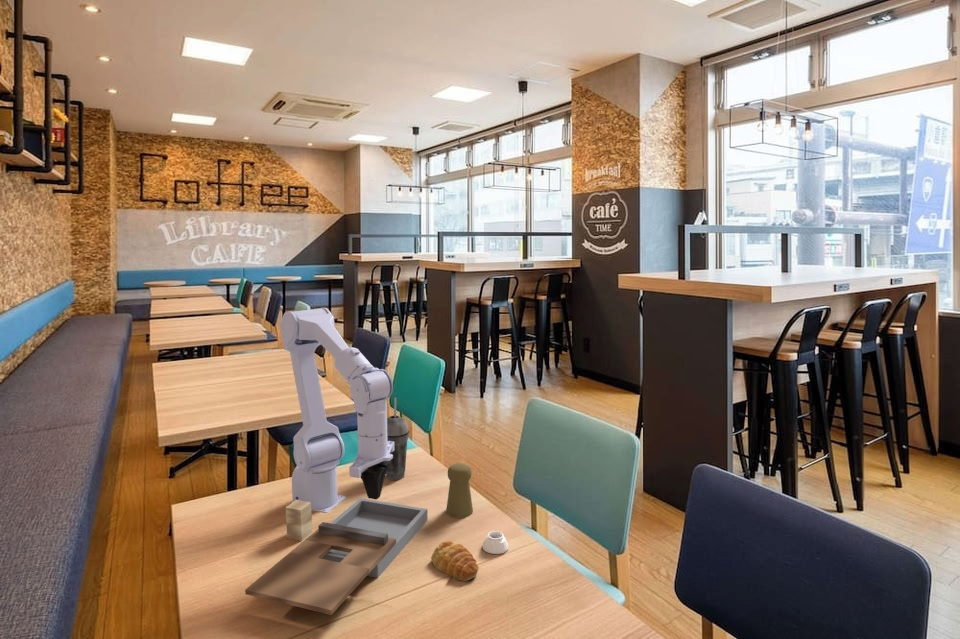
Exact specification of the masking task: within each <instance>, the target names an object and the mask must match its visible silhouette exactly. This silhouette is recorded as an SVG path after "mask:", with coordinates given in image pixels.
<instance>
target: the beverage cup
mask: <svg viewBox="0 0 960 639" xmlns="http://www.w3.org/2000/svg"><path fill="white" fill-rule="evenodd" d="M393 400H394V402H393V404H394V405H393V415H391V416H387V441H392V442H394V451H393V452H390V454H392V455H393V458H392V459H391V460H390V467H389V468H388V470H387V473H386V475H385V477H386V479H388V480H390V481H397V480H402V479H403V478H405V474H406V464H407V449H408V440H409V437H410V436H409V434H410V430H409V426H408V423H407V421H406V420H405V419H404V418H403V417H401V416H399V415H397V397H394V398H393Z"/></svg>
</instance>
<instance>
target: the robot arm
mask: <svg viewBox="0 0 960 639" xmlns="http://www.w3.org/2000/svg"><path fill="white" fill-rule="evenodd" d="M279 328H280V333H281V339H282V344H283V347H284V348H283V349H284V350H286V351H287V352H289V355H290V359H291V360H290V361H291V367H292V371H293V376H294V382H295V387H296V393H297V397H298V404H299V409H300V414H301V420H302V427H301V428H300V429H299V430H298V432H297V433H295V435H294V436H293V440H292V441H293V459H294V462H295V465H296V467H295V468H294V470H293V472H292V475H291V491H292V492H291V494H292V498H291V499H292V503H293V502H294V501H295V500H300V501H306V502H311V511H313V512H320V513H324V514H325V513H328V512H330V511H331V510H332V509H334V508H335V507H336V506H337V505H339V504H340V503H341V502H342V501H343V500H344V499H345V500H346V496H345V495H340V494H339V495H338V474H337V473H338V472H337V468H338V465H340V461H341V459H343V457H344V454H345V443H344V441H343V439H342V437H341V434H340V430H339V427H338V426H337V425H334V424H332V423H330V421H328V420H327V415H326V409H325V405H324V404H325V403H324V399H323V393H322V388H321V383H320V382H321V381H320V378H319V372H318V366H317V361H316V356H315V352H316V349H317V348H318V347H320V346H322V347H323V348H324V349H325V350H326V351H327V352H328V353H329V354H330V355H331V356H332V357H333V358H334V367H335V368H336V370H337V371H338V372H339V374H340V375H341V376H342V378H344V380H346V383H348V385H349V392H350V394H351V397H352V401H353V408H354V411H355V412H356V415H357V418H356V421H357V454H356V456H355V458H354V461H353V463H352V464H351V465H350V466H349V467H348V469H349V470H348V472H349V473H348V474H349V478H351V477H352V478H356V479H359V478H361V481H362V482H363V486H364V488H365V493H366V496H367V499H370V500H376V501H378V499H379V498H380V497H381V495H382V491H383V485H384V482H385V477H386V473H387V470H388V468H389V467H390V460H391V459H392V458H393V455H392V454H390V452H393V451H394V442H392V441H387V418H388V406H387V405H388V400H387V399H389V398H390V397H391V396H392V394H393V391H394V385H393V380H392V377H391V376H390V374H389V373H388V372H387V370H386V369H384V368H380V369H379V368H378V367H374V365H372V364H371V363H370V361H369V360H368V359H367V358H366V356H364V354H363V353H362V352H361V351H360V350H359V348H356V347H352V346H351V347H349V345H348V344H347V343H346V341H345V340H344V339H343V337H342V336H341V335H340V332H339V331H338V330H337V329H336V328H335V317H334V315H333V314H332V313H331V311H330V310H329V309H328V308H326V307H320V308H314V309H304V310H295V311H291V310H290V311H285V312H284V313H283V315H282V317H281V320H280V323H279Z"/></svg>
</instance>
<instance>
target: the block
mask: <svg viewBox="0 0 960 639" xmlns="http://www.w3.org/2000/svg"><path fill="white" fill-rule="evenodd" d="M312 511H313V510H311V502H306V501H300V500H295V501H294V502H293V501H292V502H291V503H289V504H288V505H287V506H286V507H285V521H286V526H285V527H286V539H291V540H295V541H300V542H303V541H304V540H305V539H306V538H308V537H309V536H310V535H311V534H312V533H313V515H312V514H313V513H312Z"/></svg>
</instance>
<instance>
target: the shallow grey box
mask: <svg viewBox="0 0 960 639" xmlns="http://www.w3.org/2000/svg"><path fill="white" fill-rule="evenodd" d="M427 522H428V508H422V507H418V506H417V507H416V506H410V505H405V504H400V503H399V504H398V503H394V502H393V503H392V502H387V501H382V500H376V499H370V498H362V497H360V498H358V499H357V500H356V501H355V502H353V503H352V504H351V505H349V507H348V508H346V509H345V510H344V511H343V512H342V513H340V515H338V516H337V517H336V518H335V519H334V520H332V521H331V522H330V523H331V524H337V525H342V526H347V527H353V528H358V529H364V530H369V531H375V532H380V533H385V534H388V538H393V539H396V544H395V545H394V546H393V547H392V548H391V549H390V550H389V552H388V553H387V554H386V555H385V556H384V557H383V558H382V559H381V560H380V562H379V563H378V564H377V565H376V566H375V567H374V568H373V569H372V571H371V572H370V573H369V574H368V575H367V576H366V577H371V578H374V579H375V578H376V579H378V578H380V576H381V575H382V574H383V573H384V572H385V571H386V570H387V568H388V567H389V566H390V565H391V564H392V563H393V562H394V561H395V559H396V558H397V557H398V556H399V554H400V553H401V552H402V551H403V549H405V547H406V546H407V545H408V544H409V543H410V541H412V540H413V539H414V537H415V535H417V533H418V532H419V531H420V530H421V529H422V528H423V527H424V525H425V524H426V523H427ZM348 554H349V552H344V551H338V550H333V549H331V550H330V551H329V552H328V553H327V554H326V555H325V556H324V557H323V558H322V559H325V560H330V561H335V562H341V561H342V560H343V559H344V558H345V557H346V556H347V555H348Z"/></svg>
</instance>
